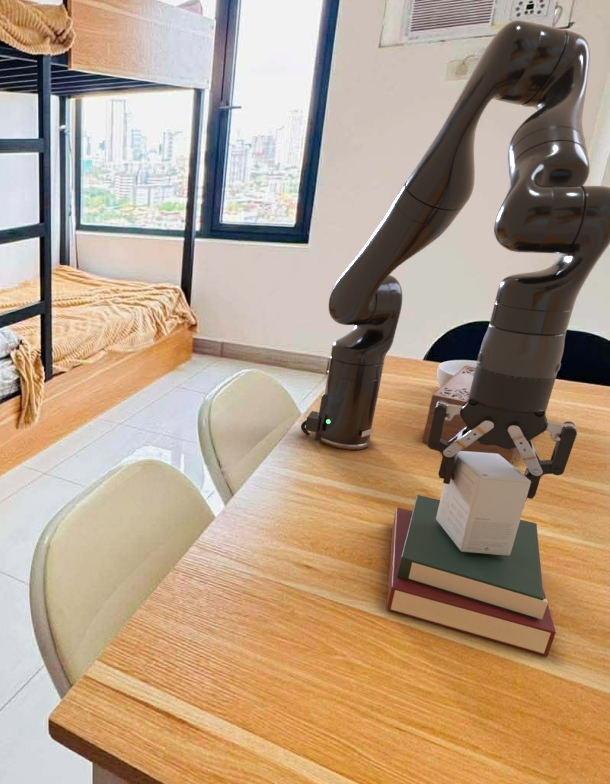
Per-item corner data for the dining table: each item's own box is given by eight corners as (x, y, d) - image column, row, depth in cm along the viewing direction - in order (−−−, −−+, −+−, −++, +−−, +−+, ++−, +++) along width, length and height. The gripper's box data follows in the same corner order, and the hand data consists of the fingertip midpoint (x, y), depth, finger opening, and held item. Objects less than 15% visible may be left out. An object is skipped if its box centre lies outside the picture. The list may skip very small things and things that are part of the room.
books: (386, 610, 78) (396, 566, 76) (392, 526, 96) (400, 489, 94) (548, 657, 71) (565, 610, 68) (522, 557, 88) (534, 517, 86)
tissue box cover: (455, 407, 142) (465, 365, 138) (534, 424, 132) (547, 380, 129) (421, 441, 125) (432, 394, 121) (510, 464, 115) (524, 414, 112)
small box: (510, 557, 77) (533, 481, 73) (459, 552, 78) (480, 477, 74) (480, 523, 84) (499, 452, 81) (434, 518, 85) (451, 449, 82)
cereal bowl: (435, 382, 158) (441, 355, 156) (517, 394, 149) (525, 366, 146) (429, 402, 145) (435, 373, 143) (518, 417, 136) (527, 386, 133)
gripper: (594, 367, 72) (554, 494, 78) (446, 348, 80) (420, 464, 86) (600, 385, 66) (557, 520, 72) (441, 363, 74) (413, 486, 80)
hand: (482, 489), depth 79 cm, fingers closed on small box, 7 cm apart
